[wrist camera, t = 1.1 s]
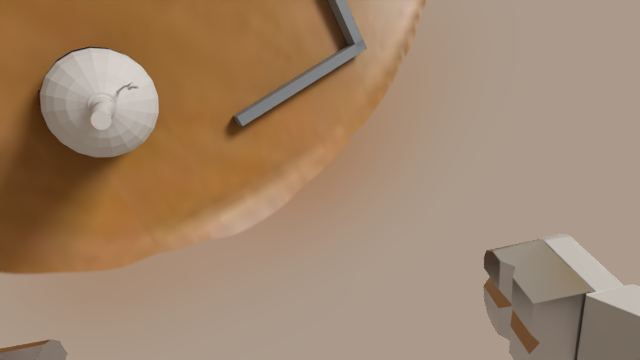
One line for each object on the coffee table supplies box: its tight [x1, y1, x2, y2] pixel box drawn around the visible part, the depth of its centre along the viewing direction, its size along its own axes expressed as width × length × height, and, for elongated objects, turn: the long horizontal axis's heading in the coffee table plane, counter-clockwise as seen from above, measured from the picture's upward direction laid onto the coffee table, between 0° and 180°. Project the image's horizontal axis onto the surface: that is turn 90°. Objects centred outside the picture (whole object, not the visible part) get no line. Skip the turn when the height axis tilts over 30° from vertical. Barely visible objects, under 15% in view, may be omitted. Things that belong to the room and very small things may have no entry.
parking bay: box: [233, 0, 367, 126], centre depth 43 cm, size 16×15×2 cm
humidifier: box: [38, 47, 159, 157], centre depth 29 cm, size 8×8×25 cm
